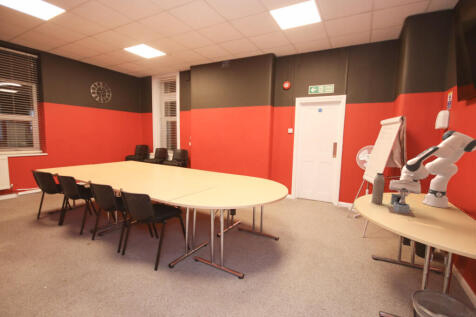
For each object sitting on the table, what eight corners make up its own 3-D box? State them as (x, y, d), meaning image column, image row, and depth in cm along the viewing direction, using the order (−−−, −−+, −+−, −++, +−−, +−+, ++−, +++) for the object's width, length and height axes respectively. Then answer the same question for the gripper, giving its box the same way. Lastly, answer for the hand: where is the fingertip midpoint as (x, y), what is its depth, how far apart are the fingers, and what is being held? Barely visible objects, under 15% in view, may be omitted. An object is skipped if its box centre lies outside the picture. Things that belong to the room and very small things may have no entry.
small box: (404, 209, 185) (406, 197, 184) (395, 208, 186) (397, 196, 185) (398, 205, 195) (399, 194, 194) (389, 205, 197) (391, 193, 195)
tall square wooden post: (398, 204, 174) (400, 188, 173) (399, 203, 177) (401, 187, 176) (405, 205, 172) (407, 189, 170) (405, 204, 175) (407, 188, 173)
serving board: (387, 207, 188) (387, 206, 188) (411, 211, 180) (411, 210, 180) (389, 214, 171) (389, 212, 171) (415, 219, 163) (415, 217, 163)
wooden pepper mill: (370, 202, 201) (373, 172, 198) (380, 204, 198) (384, 173, 195) (372, 205, 193) (376, 173, 190) (383, 206, 191) (386, 174, 188)
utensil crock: (392, 208, 182) (393, 201, 182) (407, 210, 177) (408, 203, 177) (393, 211, 174) (394, 204, 173) (409, 214, 169) (410, 206, 168)
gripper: (390, 177, 185) (387, 190, 178) (422, 181, 171) (419, 196, 165) (390, 181, 188) (387, 195, 182) (422, 186, 175) (419, 200, 169)
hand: (403, 195), depth 173 cm, fingers closed on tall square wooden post, 2 cm apart
